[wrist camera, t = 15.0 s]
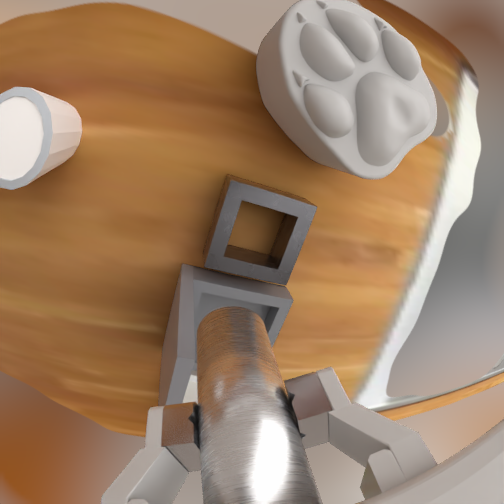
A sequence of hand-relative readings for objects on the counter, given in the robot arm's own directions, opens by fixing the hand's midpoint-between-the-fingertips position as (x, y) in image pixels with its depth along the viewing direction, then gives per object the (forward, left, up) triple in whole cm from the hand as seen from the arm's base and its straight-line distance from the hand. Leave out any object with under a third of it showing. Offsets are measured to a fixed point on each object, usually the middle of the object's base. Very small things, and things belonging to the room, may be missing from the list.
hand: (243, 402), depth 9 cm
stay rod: (0, 0, -4) cm, 4 cm away
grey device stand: (+4, -9, -18) cm, 21 cm away
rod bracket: (+4, +1, -18) cm, 19 cm away
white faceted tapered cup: (-15, +4, -19) cm, 25 cm away
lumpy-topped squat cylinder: (+5, +14, -19) cm, 24 cm away
